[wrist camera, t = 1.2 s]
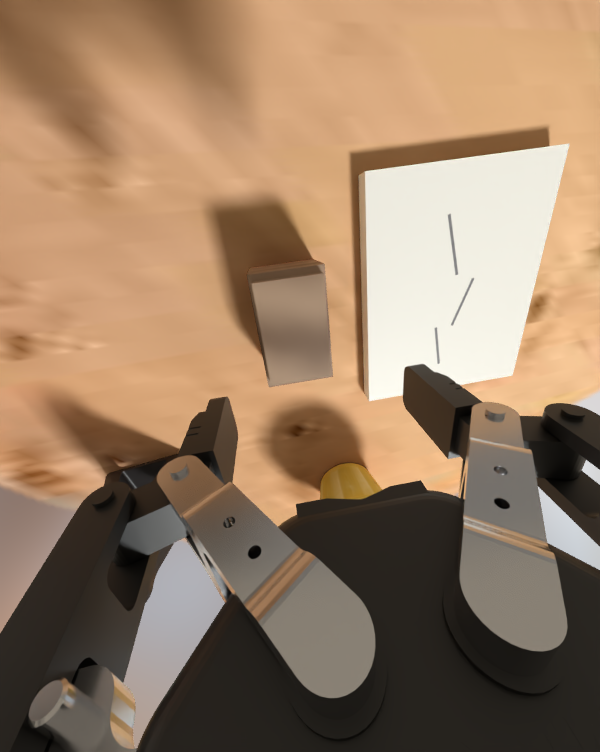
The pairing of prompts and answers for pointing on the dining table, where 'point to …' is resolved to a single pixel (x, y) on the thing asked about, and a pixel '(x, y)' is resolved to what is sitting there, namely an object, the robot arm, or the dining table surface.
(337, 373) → the dining table surface
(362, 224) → the board
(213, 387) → the dining table surface
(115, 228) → the dining table surface
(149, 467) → the phone stand
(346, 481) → the plant pot
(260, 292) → the block
